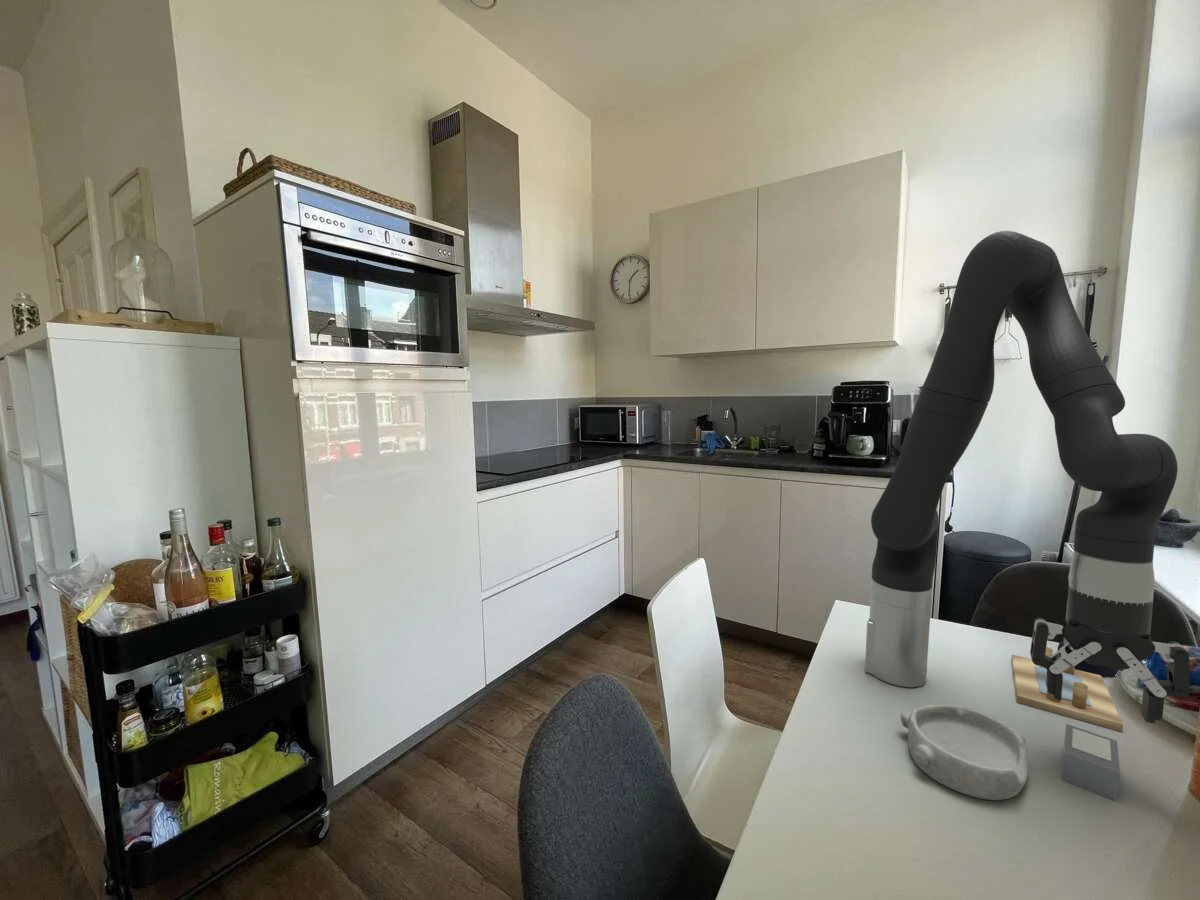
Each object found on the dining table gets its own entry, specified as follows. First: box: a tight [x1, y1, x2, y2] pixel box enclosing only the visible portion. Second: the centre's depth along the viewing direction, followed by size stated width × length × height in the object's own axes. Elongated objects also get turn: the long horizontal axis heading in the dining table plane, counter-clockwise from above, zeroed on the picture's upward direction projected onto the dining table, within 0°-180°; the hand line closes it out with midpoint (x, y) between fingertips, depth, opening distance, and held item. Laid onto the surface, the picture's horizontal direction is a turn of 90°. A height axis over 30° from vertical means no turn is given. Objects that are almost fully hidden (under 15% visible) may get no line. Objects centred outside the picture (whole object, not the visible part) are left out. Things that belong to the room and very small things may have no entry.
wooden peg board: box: [1010, 646, 1124, 733], centre depth 83 cm, size 16×12×5 cm
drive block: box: [1061, 723, 1121, 802], centre depth 65 cm, size 5×8×4 cm, turn 135°
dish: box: [900, 703, 1029, 801], centre depth 67 cm, size 14×14×5 cm
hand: (1100, 708), depth 64 cm, fingers open, 8 cm apart
